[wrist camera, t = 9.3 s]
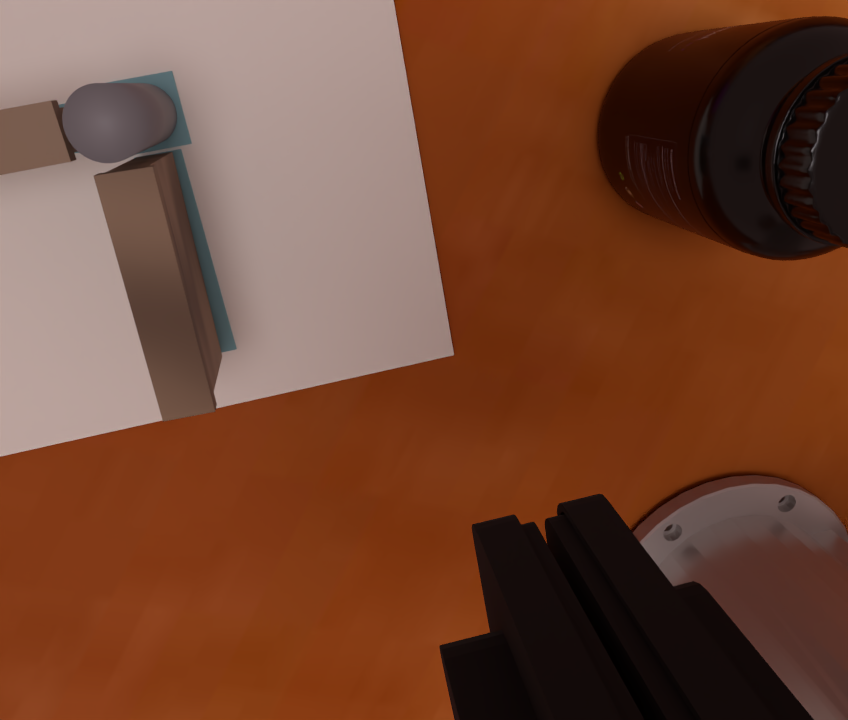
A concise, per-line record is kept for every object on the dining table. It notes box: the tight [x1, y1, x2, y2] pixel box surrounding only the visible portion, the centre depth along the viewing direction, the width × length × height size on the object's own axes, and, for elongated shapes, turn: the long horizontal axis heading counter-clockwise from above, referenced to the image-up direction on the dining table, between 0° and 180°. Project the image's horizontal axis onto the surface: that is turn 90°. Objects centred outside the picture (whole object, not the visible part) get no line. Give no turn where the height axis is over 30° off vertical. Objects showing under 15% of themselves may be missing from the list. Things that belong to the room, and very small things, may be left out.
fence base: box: [0, 0, 454, 456], centre depth 24 cm, size 19×16×7 cm
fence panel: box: [94, 152, 222, 421], centre depth 25 cm, size 8×2×5 cm, turn 8°
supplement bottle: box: [598, 16, 848, 261], centre depth 24 cm, size 7×7×12 cm
